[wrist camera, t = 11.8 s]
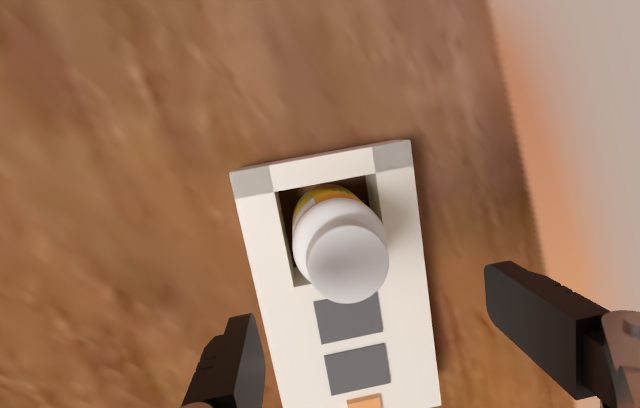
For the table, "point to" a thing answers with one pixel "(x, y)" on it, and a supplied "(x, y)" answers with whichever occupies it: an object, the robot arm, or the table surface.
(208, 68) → the table surface
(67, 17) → the table surface
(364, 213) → the supplement bottle
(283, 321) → the white bottle holder
